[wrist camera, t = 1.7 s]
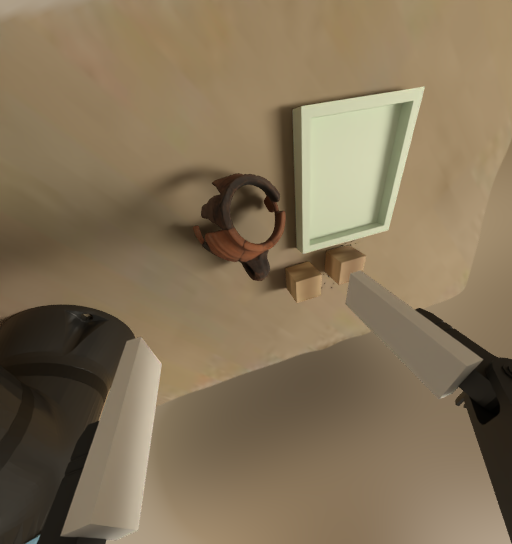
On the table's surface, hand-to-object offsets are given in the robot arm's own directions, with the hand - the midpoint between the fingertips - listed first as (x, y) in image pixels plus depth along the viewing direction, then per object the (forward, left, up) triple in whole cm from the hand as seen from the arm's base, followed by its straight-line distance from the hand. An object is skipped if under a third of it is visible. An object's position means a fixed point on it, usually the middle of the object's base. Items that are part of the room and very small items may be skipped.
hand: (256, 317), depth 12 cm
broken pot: (+1, -1, -16) cm, 16 cm away
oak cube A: (+10, -10, -15) cm, 21 cm away
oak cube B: (+17, -9, -15) cm, 24 cm away
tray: (+17, +3, -15) cm, 23 cm away
